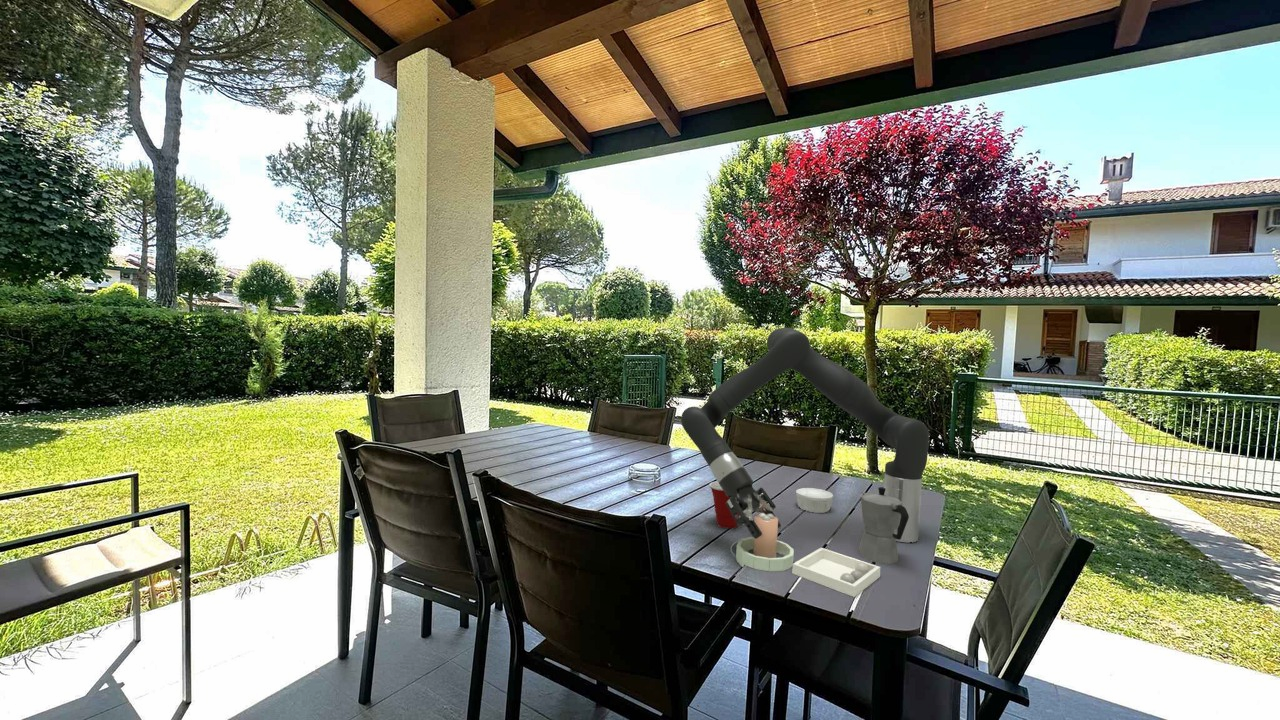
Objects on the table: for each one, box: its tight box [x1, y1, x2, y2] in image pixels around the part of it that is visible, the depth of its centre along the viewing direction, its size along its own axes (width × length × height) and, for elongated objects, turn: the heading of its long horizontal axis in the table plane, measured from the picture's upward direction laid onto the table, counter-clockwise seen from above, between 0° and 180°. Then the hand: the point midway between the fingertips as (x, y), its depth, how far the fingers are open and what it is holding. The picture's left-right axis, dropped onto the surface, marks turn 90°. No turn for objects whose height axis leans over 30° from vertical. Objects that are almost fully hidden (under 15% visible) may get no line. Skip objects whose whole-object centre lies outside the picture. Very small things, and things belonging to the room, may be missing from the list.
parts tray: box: [791, 547, 881, 598], centre depth 117 cm, size 14×14×4 cm
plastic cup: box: [709, 480, 741, 529], centre depth 148 cm, size 11×11×12 cm
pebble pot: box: [752, 512, 779, 558], centre depth 124 cm, size 5×5×11 cm
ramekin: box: [795, 487, 834, 514], centre depth 166 cm, size 11×11×5 cm
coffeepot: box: [857, 486, 909, 565], centre depth 127 cm, size 15×9×18 cm, turn 14°
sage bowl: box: [735, 536, 795, 572], centre depth 124 cm, size 13×13×4 cm
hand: (768, 532), depth 124 cm, fingers open, 8 cm apart
